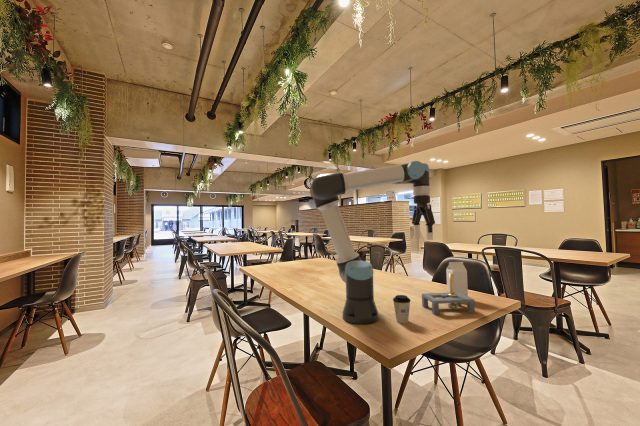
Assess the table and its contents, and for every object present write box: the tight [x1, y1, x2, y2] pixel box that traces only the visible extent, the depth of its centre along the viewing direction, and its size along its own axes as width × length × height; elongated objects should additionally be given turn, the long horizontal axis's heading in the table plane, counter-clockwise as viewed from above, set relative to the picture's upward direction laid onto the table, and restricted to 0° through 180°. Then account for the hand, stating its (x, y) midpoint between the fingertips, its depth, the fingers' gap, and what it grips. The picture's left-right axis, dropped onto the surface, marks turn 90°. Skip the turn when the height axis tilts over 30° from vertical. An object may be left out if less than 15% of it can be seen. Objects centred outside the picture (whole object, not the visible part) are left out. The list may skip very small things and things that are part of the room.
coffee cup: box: [392, 294, 412, 324], centre depth 111 cm, size 7×7×10 cm
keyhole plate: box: [421, 292, 476, 316], centre depth 123 cm, size 18×12×6 cm, turn 94°
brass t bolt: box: [447, 274, 458, 310], centre depth 123 cm, size 4×4×15 cm
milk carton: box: [445, 261, 469, 297], centre depth 138 cm, size 7×7×19 cm
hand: (423, 238), depth 132 cm, fingers open, 13 cm apart
